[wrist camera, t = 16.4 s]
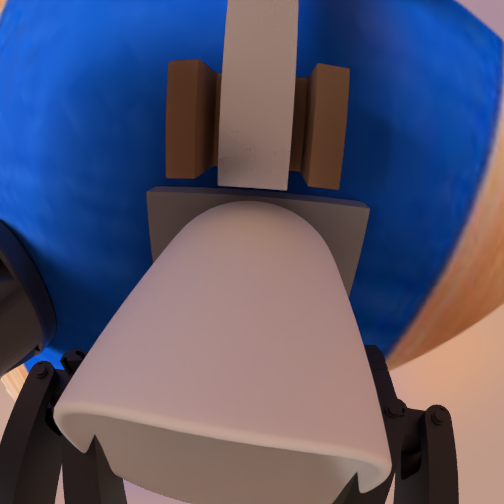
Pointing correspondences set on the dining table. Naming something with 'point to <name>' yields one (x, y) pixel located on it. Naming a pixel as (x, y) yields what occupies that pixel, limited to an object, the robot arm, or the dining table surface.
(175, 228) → the dock pad
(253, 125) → the crank handle
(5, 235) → the robot arm
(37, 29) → the dining table surface
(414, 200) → the dining table surface
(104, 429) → the mug
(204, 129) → the mount
